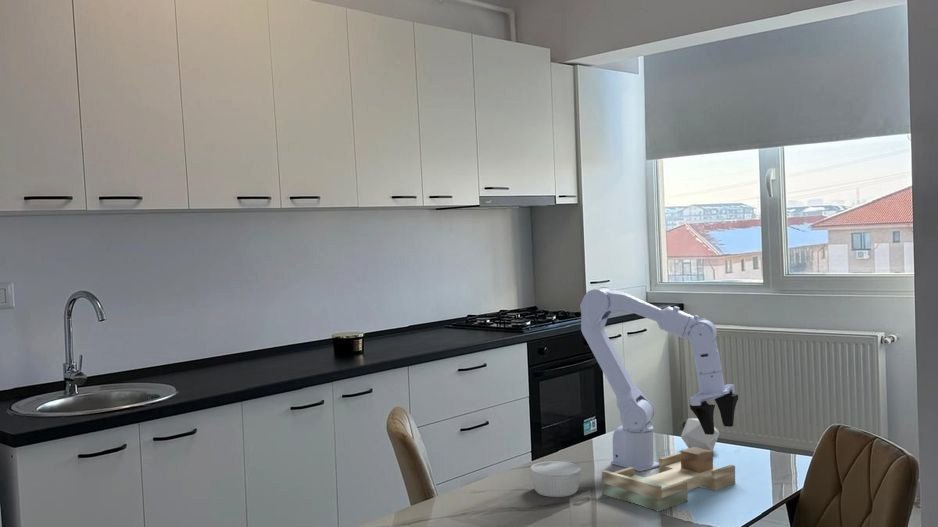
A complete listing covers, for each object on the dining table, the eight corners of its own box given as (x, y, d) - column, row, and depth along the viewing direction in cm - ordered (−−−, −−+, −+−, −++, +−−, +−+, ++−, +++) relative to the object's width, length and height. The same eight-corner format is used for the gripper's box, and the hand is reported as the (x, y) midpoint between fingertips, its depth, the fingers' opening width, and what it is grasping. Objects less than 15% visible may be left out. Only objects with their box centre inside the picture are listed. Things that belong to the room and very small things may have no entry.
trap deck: (602, 494, 177) (602, 471, 177) (679, 469, 194) (678, 448, 194) (658, 511, 165) (658, 487, 165) (735, 483, 182) (735, 461, 182)
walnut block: (681, 468, 186) (680, 450, 186) (694, 463, 189) (694, 446, 189) (699, 472, 182) (699, 455, 182) (713, 468, 185) (712, 450, 185)
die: (712, 459, 204) (729, 424, 206) (679, 441, 205) (696, 406, 208) (702, 462, 212) (719, 428, 214) (671, 445, 213) (688, 411, 216)
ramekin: (552, 480, 188) (552, 457, 188) (592, 490, 180) (591, 466, 180) (520, 491, 180) (519, 468, 180) (559, 503, 172) (559, 478, 172)
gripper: (705, 377, 182) (715, 438, 182) (742, 365, 191) (751, 423, 191) (679, 378, 188) (689, 437, 187) (716, 366, 197) (725, 422, 196)
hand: (719, 430), depth 189 cm, fingers open, 7 cm apart
